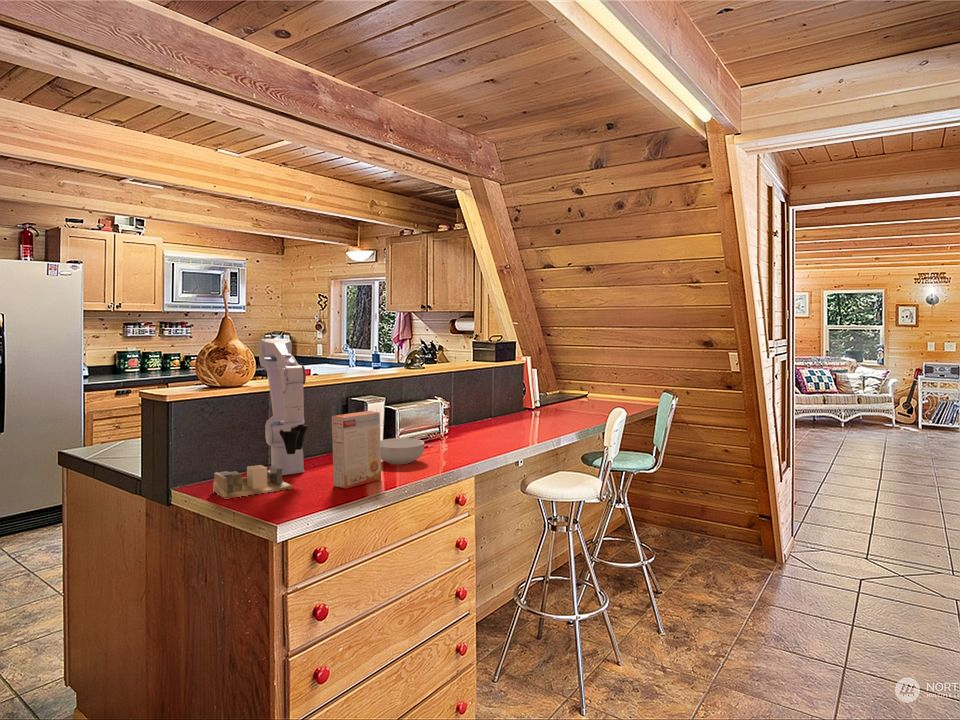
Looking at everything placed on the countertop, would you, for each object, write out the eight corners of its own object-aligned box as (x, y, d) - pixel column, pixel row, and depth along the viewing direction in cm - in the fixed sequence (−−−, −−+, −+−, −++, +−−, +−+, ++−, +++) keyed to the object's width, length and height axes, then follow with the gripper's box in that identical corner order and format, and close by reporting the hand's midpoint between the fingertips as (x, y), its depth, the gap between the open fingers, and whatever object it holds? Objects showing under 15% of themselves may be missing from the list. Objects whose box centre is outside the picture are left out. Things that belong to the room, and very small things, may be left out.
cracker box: (368, 477, 197) (368, 410, 196) (382, 480, 193) (381, 411, 192) (331, 486, 186) (330, 415, 185) (345, 489, 182) (344, 416, 181)
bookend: (275, 480, 189) (275, 465, 189) (282, 483, 185) (282, 468, 184) (270, 480, 188) (270, 466, 188) (277, 484, 184) (276, 469, 183)
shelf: (279, 482, 191) (279, 462, 191) (292, 488, 183) (292, 468, 183) (213, 492, 179) (213, 472, 179) (224, 499, 171) (224, 478, 171)
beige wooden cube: (261, 483, 186) (260, 464, 186) (267, 486, 182) (266, 467, 182) (247, 485, 184) (246, 466, 183) (253, 488, 180) (252, 469, 180)
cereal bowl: (364, 464, 215) (364, 444, 214) (393, 456, 229) (393, 436, 229) (406, 470, 207) (406, 448, 206) (433, 460, 222) (433, 440, 221)
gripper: (287, 403, 196) (288, 447, 197) (272, 409, 181) (273, 456, 182) (310, 403, 196) (311, 447, 197) (296, 409, 181) (297, 456, 182)
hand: (294, 451), depth 189 cm, fingers open, 6 cm apart
